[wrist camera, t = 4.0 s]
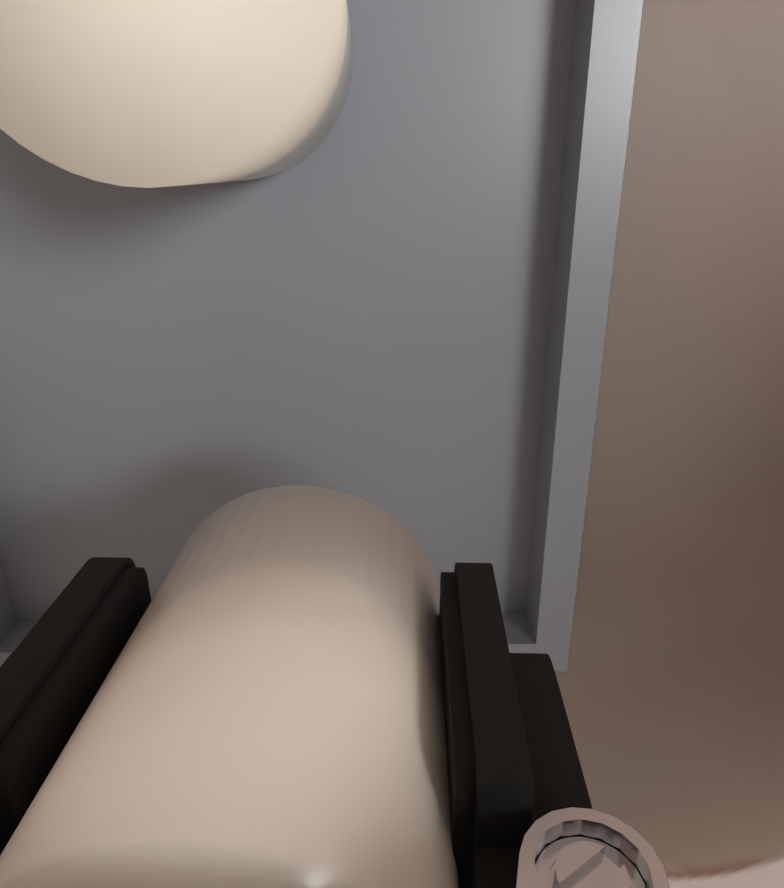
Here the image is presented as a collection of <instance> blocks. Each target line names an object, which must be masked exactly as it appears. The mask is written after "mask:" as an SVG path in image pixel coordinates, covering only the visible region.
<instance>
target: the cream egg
mask: <svg viewBox="0 0 784 888" xmlns="http://www.w3.org/2000/svg"><path fill="white" fill-rule="evenodd" d="M439 609H440V588H439V583H438V579H437V576H436V573H435V570H434V568H433V565H432V563H431V561H430V559H429V557H428V555H427V554H426V552H425V550H424V548H423V547H422V546H421V544H420V543H419V542H418V540H417V539H416V538H415V536H414V535H413V534H412V533H411V532H410V531H409V530H408V529H407V528H406V527H405V526H404V525H403V524H402V523H401V522H399V521H398V520H397V519H396V518H394V517H393V516H392V515H391V514H389V513H388V512H386V511H385V510H383V509H381V508H380V507H378V506H376V505H375V504H373V503H371V502H369V501H367V500H365V499H362V498H360V497H358V496H356V495H352V494H349V493H346V492H343V491H340V490H336V489H331V488H326V487H320V486H308V485H288V486H277V487H271V488H266V489H261V490H258V491H255V492H251V493H248V494H245V495H243V496H241V497H239V498H236V499H234V500H232V501H230V502H228V503H227V504H225V505H223V506H222V507H220V508H219V509H217V510H215V511H214V512H213V513H212V514H211V515H210V516H208V517H207V518H206V519H205V520H204V521H203V522H202V523H201V524H200V525H199V526H198V527H197V528H196V530H195V531H194V532H193V533H192V535H191V536H190V538H189V539H188V541H187V542H186V544H185V545H184V547H183V549H182V550H181V552H180V554H179V556H178V557H177V559H176V561H175V562H174V564H173V566H172V567H171V569H170V571H169V572H168V574H167V576H166V577H165V579H164V581H163V582H162V584H161V586H160V588H159V589H158V591H157V593H156V594H155V596H154V598H153V599H152V601H151V603H150V604H149V606H148V608H147V609H146V611H145V613H144V614H143V616H142V618H141V619H140V621H139V623H138V625H137V626H136V628H135V630H134V631H133V633H132V635H131V636H130V638H129V640H128V641H127V643H126V645H125V646H124V648H123V650H122V651H121V653H120V655H119V657H118V658H117V660H116V662H115V663H114V665H113V667H112V668H111V670H110V672H109V673H108V675H107V677H106V678H105V680H104V682H103V683H102V685H101V687H100V688H99V690H98V692H97V694H96V695H95V697H94V699H93V700H92V702H91V704H90V705H89V707H88V709H87V710H86V712H85V714H84V715H83V717H82V719H81V720H80V722H79V724H78V726H77V727H76V729H75V731H74V732H73V734H72V736H71V737H70V739H69V741H68V742H67V744H66V746H65V747H64V749H63V751H62V752H61V754H60V756H59V757H58V759H57V761H56V763H55V764H54V766H53V768H52V769H51V771H50V773H49V774H48V776H47V778H46V779H45V781H44V783H43V784H42V786H41V788H40V789H39V791H38V793H37V795H36V796H35V798H34V800H33V801H32V803H31V805H30V806H29V808H28V810H27V811H26V813H25V815H24V816H23V818H22V820H21V821H20V823H19V825H18V826H17V828H16V830H15V832H14V833H13V835H12V837H11V838H10V840H9V842H8V843H7V845H6V847H5V848H4V850H3V852H2V853H1V855H0V888H459V885H458V872H457V867H456V863H455V859H454V854H453V851H452V836H451V818H450V800H449V782H448V764H447V746H446V728H445V710H444V692H443V674H442V656H441V638H440V620H439Z"/></svg>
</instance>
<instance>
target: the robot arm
mask: <svg viewBox="0 0 784 888" xmlns="http://www.w3.org/2000/svg"><path fill="white" fill-rule="evenodd" d="M150 603H151V596H150V590H149V583H148V577H147V573H146V571H145V569H144V568H142V567H136V566H135V563H134V561H133V560H132V559H131V558H120V557H93V558H90V559H89V560H88V561H87V562H86V563H85V564H84V565H83V566H82V568H81V569H80V570H79V571H78V573H77V574H76V575H75V576H74V578H73V579H72V580H71V581H70V582H69V584H68V585H67V586H66V587H65V589H64V590H63V591H62V592H61V594H60V595H59V596H58V597H57V598H56V600H55V601H54V602H53V603H52V605H51V606H50V607H49V608H48V610H47V611H46V612H45V613H44V614H43V616H42V617H41V618H40V619H39V621H38V622H37V623H36V624H35V626H34V627H33V628H32V629H31V630H30V632H29V633H28V634H27V635H26V637H25V638H24V639H23V640H22V642H21V643H20V644H19V645H18V646H17V648H16V649H15V650H14V651H13V652H12V653H11V654H10V656H9V657H8V658H7V659H6V661H5V662H4V663H3V664H2V665H1V667H0V855H1V853H2V852H3V850H4V848H5V847H6V845H7V843H8V842H9V840H10V838H11V837H12V835H13V833H14V832H15V830H16V828H17V826H18V825H19V823H20V821H21V820H22V818H23V816H24V815H25V813H26V811H27V810H28V808H29V806H30V805H31V803H32V801H33V800H34V798H35V796H36V795H37V793H38V791H39V789H40V788H41V786H42V784H43V783H44V781H45V779H46V778H47V776H48V774H49V773H50V771H51V769H52V768H53V766H54V764H55V763H56V761H57V759H58V757H59V756H60V754H61V752H62V751H63V749H64V747H65V746H66V744H67V742H68V741H69V739H70V737H71V736H72V734H73V732H74V731H75V729H76V727H77V726H78V724H79V722H80V720H81V719H82V717H83V715H84V714H85V712H86V710H87V709H88V707H89V705H90V704H91V702H92V700H93V699H94V697H95V695H96V694H97V692H98V690H99V688H100V687H101V685H102V683H103V682H104V680H105V678H106V677H107V675H108V673H109V672H110V670H111V668H112V667H113V665H114V663H115V662H116V660H117V658H118V657H119V655H120V653H121V651H122V650H123V648H124V646H125V645H126V643H127V641H128V640H129V638H130V636H131V635H132V633H133V631H134V630H135V628H136V626H137V625H138V623H139V621H140V619H141V618H142V616H143V614H144V613H145V611H146V609H147V608H148V606H149V604H150ZM439 620H440V638H441V656H442V674H443V692H444V710H445V728H446V746H447V764H448V782H449V800H450V818H451V836H452V851H453V854H454V859H455V863H456V867H457V872H458V885H459V888H670V886H669V882H668V879H667V875H666V872H665V868H664V865H663V863H662V862H661V860H660V859H659V857H658V855H657V854H656V852H655V851H654V849H653V847H652V846H651V845H650V844H649V843H648V842H647V841H646V840H645V839H644V838H643V837H642V836H641V835H640V834H639V833H638V832H637V831H636V830H635V829H634V828H632V827H631V826H629V825H628V824H626V823H624V822H623V821H621V820H619V819H618V818H616V817H614V816H612V815H609V814H606V813H603V812H600V811H597V810H594V809H592V806H591V802H590V798H589V795H588V791H587V787H586V784H585V780H584V777H583V773H582V769H581V766H580V762H579V758H578V755H577V751H576V747H575V744H574V740H573V737H572V733H571V729H570V726H569V722H568V718H567V715H566V711H565V707H564V704H563V700H562V696H561V693H560V689H559V686H558V682H557V678H556V675H555V671H554V667H553V664H552V661H551V658H550V656H549V655H548V654H543V653H509V648H508V642H507V637H506V632H505V627H504V622H503V617H502V611H501V606H500V601H499V596H498V591H497V586H496V580H495V575H494V570H493V566H492V564H491V563H455V567H454V572H441V578H440V609H439Z"/></svg>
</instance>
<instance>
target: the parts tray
mask: <svg viewBox="0 0 784 888" xmlns="http://www.w3.org/2000/svg"><path fill="white" fill-rule="evenodd" d="M347 3H348V10H349V16H350V23H351V30H352V40H353V70H352V76H351V82H350V88H349V91H348V95H347V98H346V102H345V104H344V107H343V109H342V111H341V114H340V116H339V118H338V120H337V122H336V123H335V125H334V127H333V129H332V130H331V132H330V133H329V134H328V136H327V137H326V138H325V140H324V141H323V142H322V144H321V145H320V146H319V147H318V148H317V149H316V150H315V151H314V152H313V153H311V154H310V155H309V156H308V157H307V158H305V159H304V160H303V161H301V162H300V163H298V164H297V165H295V166H293V167H291V168H290V169H288V170H286V171H284V172H281V173H278V174H276V175H273V176H270V177H265V178H261V179H255V180H243V181H231V182H219V183H207V184H194V185H182V186H169V187H155V188H140V187H125V186H118V185H113V184H108V183H103V182H98V181H94V180H91V179H89V178H86V177H83V176H80V175H77V174H74V173H71V172H68V171H66V170H64V169H62V168H60V167H58V166H56V165H54V164H52V163H50V162H48V161H46V160H44V159H42V158H41V157H39V156H38V155H36V154H34V153H33V152H31V151H30V150H28V149H27V148H25V147H23V146H22V145H20V144H19V143H18V142H16V141H15V140H14V139H13V138H11V137H10V136H9V135H8V134H6V133H5V132H4V131H3V130H1V129H0V667H1V665H2V664H3V663H4V662H5V661H6V659H7V658H8V657H9V656H10V654H11V653H12V652H13V651H14V650H15V649H16V648H17V646H18V645H19V644H20V643H21V642H22V640H23V639H24V638H25V637H26V635H27V634H28V633H29V632H30V630H31V629H32V628H33V627H34V626H35V624H36V623H37V622H38V621H39V619H40V618H41V617H42V616H43V614H44V613H45V612H46V611H47V610H48V608H49V607H50V606H51V605H52V603H53V602H54V601H55V600H56V598H57V597H58V596H59V595H60V594H61V592H62V591H63V590H64V589H65V587H66V586H67V585H68V584H69V582H70V581H71V580H72V579H73V578H74V576H75V575H76V574H77V573H78V571H79V570H80V569H81V568H82V566H83V565H84V564H85V563H86V562H87V561H88V560H89V559H90V558H93V557H120V558H131V559H132V560H133V561H134V563H135V566H136V567H142V568H144V569H145V571H146V573H147V577H148V583H149V590H150V596H151V601H152V599H153V598H154V596H155V594H156V593H157V591H158V589H159V588H160V586H161V584H162V582H163V581H164V579H165V577H166V576H167V574H168V572H169V571H170V569H171V567H172V566H173V564H174V562H175V561H176V559H177V557H178V556H179V554H180V552H181V550H182V549H183V547H184V545H185V544H186V542H187V541H188V539H189V538H190V536H191V535H192V533H193V532H194V531H195V530H196V528H197V527H198V526H199V525H200V524H201V523H202V522H203V521H204V520H205V519H206V518H207V517H208V516H210V515H211V514H212V513H213V512H214V511H215V510H217V509H219V508H220V507H222V506H223V505H225V504H227V503H228V502H230V501H232V500H234V499H236V498H239V497H241V496H243V495H245V494H248V493H251V492H255V491H258V490H261V489H266V488H271V487H277V486H288V485H308V486H320V487H326V488H331V489H336V490H340V491H343V492H346V493H349V494H352V495H356V496H358V497H360V498H362V499H365V500H367V501H369V502H371V503H373V504H375V505H376V506H378V507H380V508H381V509H383V510H385V511H386V512H388V513H389V514H391V515H392V516H393V517H394V518H396V519H397V520H398V521H399V522H401V523H402V524H403V525H404V526H405V527H406V528H407V529H408V530H409V531H410V532H411V533H412V534H413V535H414V536H415V538H416V539H417V540H418V542H419V543H420V544H421V546H422V547H423V548H424V550H425V552H426V554H427V555H428V557H429V559H430V561H431V563H432V565H433V568H434V570H435V573H436V576H437V579H438V583H439V588H440V578H441V572H454V567H455V563H491V564H492V566H493V570H494V575H495V580H496V586H497V591H498V596H499V601H500V606H501V611H502V617H503V622H504V627H505V632H506V637H507V642H508V648H509V653H543V654H548V655H549V656H550V658H551V661H552V664H553V667H554V671H555V672H561V671H567V670H568V661H569V652H570V643H571V634H572V626H573V617H574V608H575V599H576V590H577V581H578V572H579V564H580V555H581V546H582V537H583V528H584V519H585V511H586V502H587V493H588V484H589V475H590V466H591V458H592V449H593V440H594V431H595V422H596V413H597V405H598V396H599V387H600V378H601V369H602V360H603V352H604V343H605V334H606V325H607V316H608V307H609V298H610V290H611V281H612V272H613V263H614V254H615V245H616V237H617V228H618V219H619V210H620V201H621V192H622V184H623V175H624V166H625V157H626V148H627V139H628V131H629V122H630V113H631V104H632V95H633V86H634V78H635V69H636V60H637V51H638V42H639V33H640V24H641V16H642V7H643V0H347Z"/></svg>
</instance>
